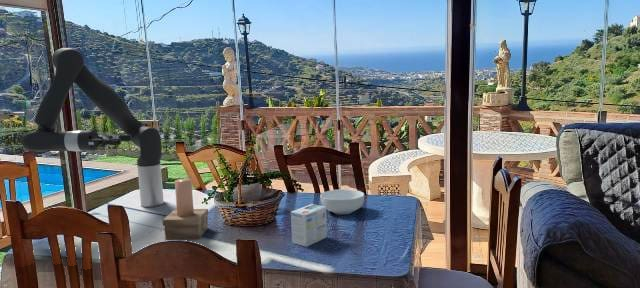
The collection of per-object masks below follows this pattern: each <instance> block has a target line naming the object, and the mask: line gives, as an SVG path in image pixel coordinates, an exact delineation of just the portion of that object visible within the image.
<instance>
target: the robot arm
mask: <svg viewBox="0 0 640 288" xmlns="http://www.w3.org/2000/svg"><path fill="white" fill-rule="evenodd" d="M51 62H52V64H53V67H54V68H55V73H54V77H53V80H52V82H51V85H50V86H49V88H48V90H47V92H45V94H44V96H43V98H42V99H41V101H40V102H39V103H40V104H39V106H38V108H37V112H36V114H35V117H34V120H33V121H34V123H35V124H36V125H37V130H32V131H27V132H25V134H23V136H22V138H21V141H20V142H21V145H22V147H23V148H24V149H26V150H28V151H31V152H37V153H45V152H48V151H55V152H57V151H58V152H70V151H71V152H94V151H97V150H98V149H99V147H100V148H101V147H102V148H105V147H109V146H120V145H121V144H122V142H132V143H133V144H134V145H135V146H136V147H138V148H139V153H140V154H139V157H138V158H137V160H136V163H137V165H136V166H137V176H138V177H137V178H138V186H139V198H140V206H141V207H144V208H152V207H153V208H154V207H159V206H161V205H163V204H164V203H165V202H164V201H165V200H164V189H163V178H162V177H163V176H162V166H161V160H162V151H163V150H162V137H161V134H160V132H159V130H158V129H156V128H155V127H152V126H146V125H144V124H143V123H142V122H141V121H140V120H138V119H137V118H136V117H135V116H134V115H133V113H132V111H131V109H130V107H129V106H128V104H127V103H126V101H125V100H124V99H123V97H122V96H121V95H120V94H119V93H118V92H117V91H116V90H115V89H114V88H113V87H111V85H109V84H107V83H106V82H105V81H104V80H102V79H101V78H99V77H98V76H96V75H95V74H93V73H92V71H90V69H89V68H88V67H87V66H86V65H85V59H84V56H83V54H82V53H81V52H80V51H79V50H78V49H76V48H75V49H74V48H71V47H70V48H69V47H61V48H59V49H57V50H55V51H54V52H53V53H52V56H51ZM73 84H74V85H76V86H77V87H78V88H79V89H80V91H82V93H83V94H84V95H85V96H86V97H87V98H88V99H89V100H90V101H91V103H93V105H94V106H96V108H98V109H99V110H100V111H101V112H102V113H103V114H104V115H105V116H106V117H107V118H109V119H110V120H111V121H112V123H114V124H115V125H116V126H118V127H119V128H120V130H122V131H123V132H124V134H122V133H112V134H111V133H110V134H109V133H106V134H105V133H103V134H98V132H97V131H96V130H94V129H91V130H90V129H88V130H86V129H84V130H81V129H80V130H71V131H56V125H57V122H58V119H59V117H60V114H61V112H62V110H63V107H64V104H65V101H66V99H67V96H68V94H69V92H70V90H71V88H72V86H73Z"/></svg>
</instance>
